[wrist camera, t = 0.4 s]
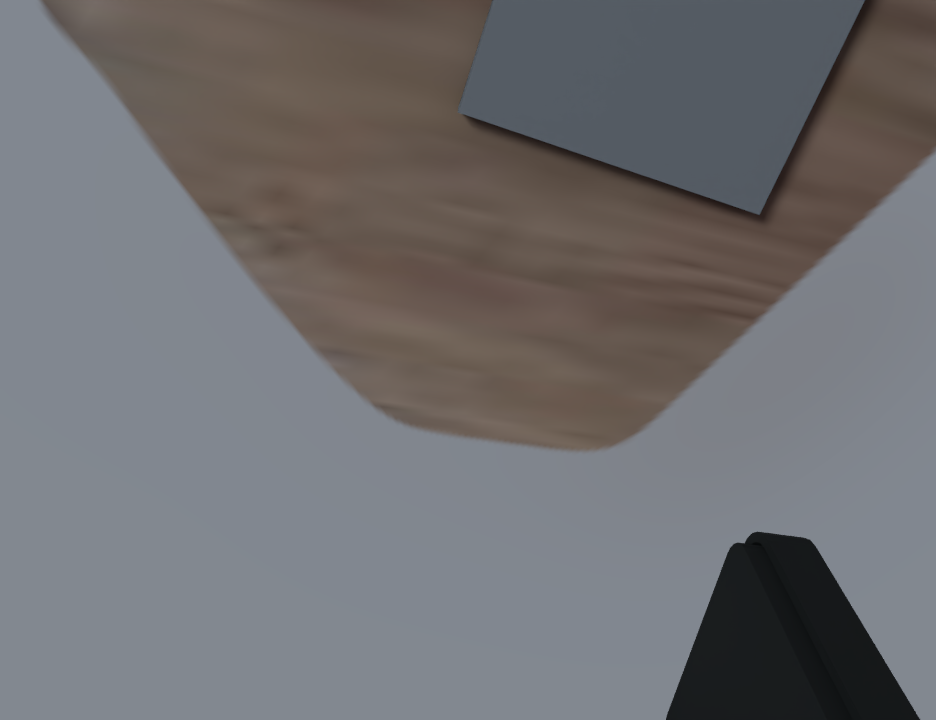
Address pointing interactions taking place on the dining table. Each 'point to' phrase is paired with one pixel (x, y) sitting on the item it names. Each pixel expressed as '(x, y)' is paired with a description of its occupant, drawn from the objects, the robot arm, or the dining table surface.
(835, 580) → the robot arm
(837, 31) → the mat
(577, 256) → the dining table surface
